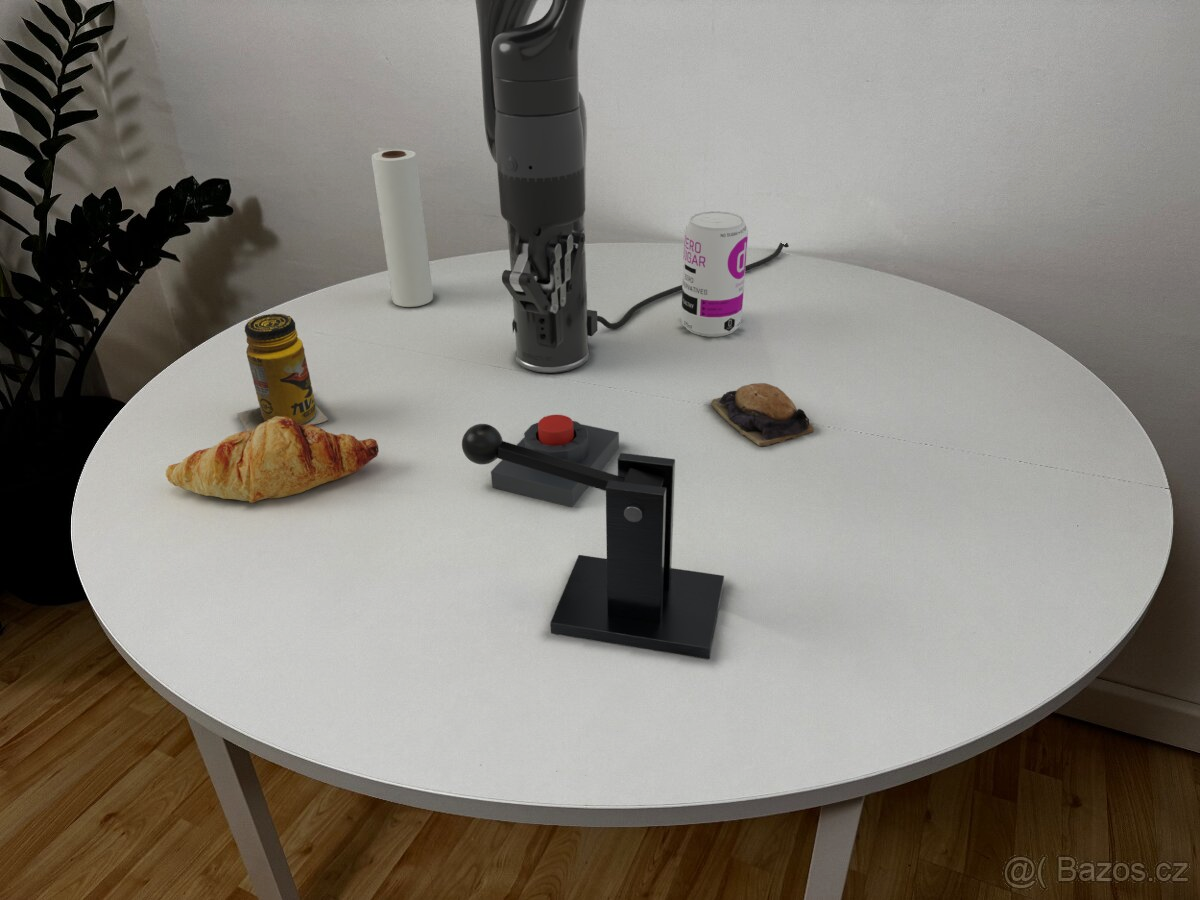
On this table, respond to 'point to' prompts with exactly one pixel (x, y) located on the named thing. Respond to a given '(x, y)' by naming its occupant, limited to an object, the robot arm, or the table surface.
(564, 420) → the button
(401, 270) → the paper towel roll
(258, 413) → the condiment
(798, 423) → the brown rounded layered piece
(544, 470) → the lever
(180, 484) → the croissant
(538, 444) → the control block
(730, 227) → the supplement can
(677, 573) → the bracket
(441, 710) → the table surface
